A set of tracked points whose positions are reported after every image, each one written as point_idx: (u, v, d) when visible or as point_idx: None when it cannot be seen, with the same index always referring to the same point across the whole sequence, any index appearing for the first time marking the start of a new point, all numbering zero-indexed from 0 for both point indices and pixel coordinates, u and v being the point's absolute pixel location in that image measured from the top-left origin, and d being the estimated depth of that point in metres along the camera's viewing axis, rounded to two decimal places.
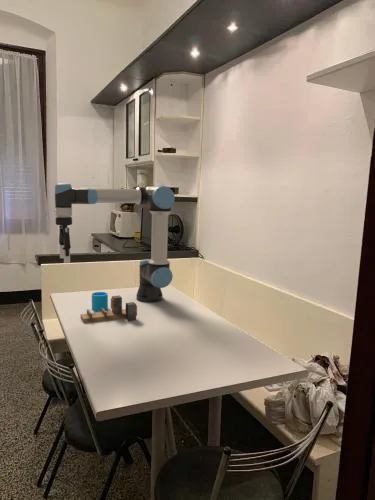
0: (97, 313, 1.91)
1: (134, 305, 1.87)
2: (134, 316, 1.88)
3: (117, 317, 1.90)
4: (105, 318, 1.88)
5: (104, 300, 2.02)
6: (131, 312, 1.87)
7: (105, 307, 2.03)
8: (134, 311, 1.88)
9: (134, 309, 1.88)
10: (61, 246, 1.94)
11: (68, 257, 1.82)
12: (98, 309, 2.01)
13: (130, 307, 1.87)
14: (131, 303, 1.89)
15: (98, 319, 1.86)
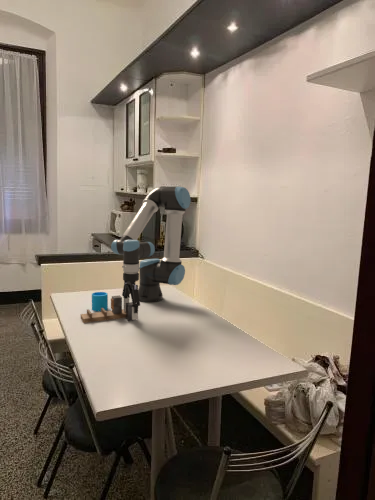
0: (97, 313, 1.91)
1: None
2: None
3: (117, 317, 1.90)
4: (105, 318, 1.88)
5: (104, 300, 2.02)
6: (131, 312, 1.87)
7: (105, 307, 2.03)
8: None
9: None
10: (125, 299, 1.94)
11: (136, 314, 1.82)
12: (98, 309, 2.01)
13: (129, 307, 1.86)
14: (131, 303, 1.89)
15: (98, 319, 1.86)
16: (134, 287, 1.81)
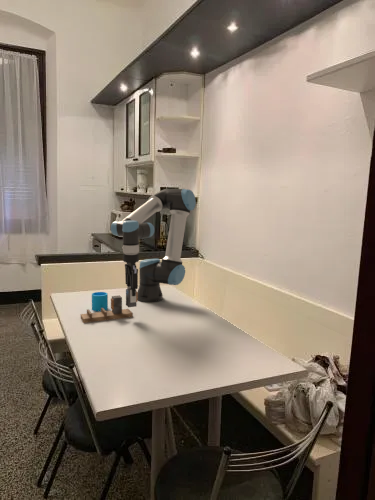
0: (97, 313, 1.91)
1: None
2: (134, 302, 1.88)
3: (117, 317, 1.90)
4: (105, 318, 1.88)
5: (104, 300, 2.02)
6: None
7: (105, 307, 2.03)
8: None
9: None
10: (129, 288, 1.89)
11: (134, 297, 1.86)
12: (98, 309, 2.01)
13: None
14: None
15: (98, 319, 1.86)
16: (134, 272, 1.80)
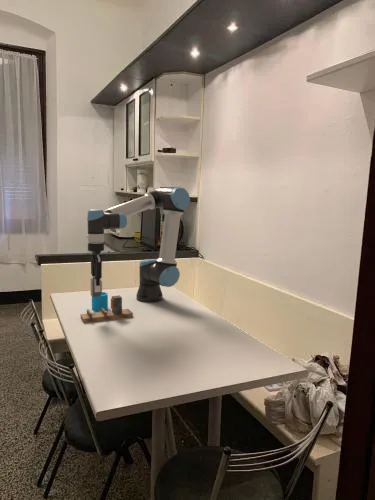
0: (97, 313, 1.91)
1: None
2: (99, 292, 1.86)
3: (117, 317, 1.90)
4: (105, 318, 1.88)
5: (104, 300, 2.02)
6: None
7: (105, 307, 2.03)
8: None
9: None
10: (94, 277, 1.88)
11: (98, 286, 1.85)
12: (98, 309, 2.01)
13: None
14: None
15: (98, 319, 1.86)
16: (98, 260, 1.79)
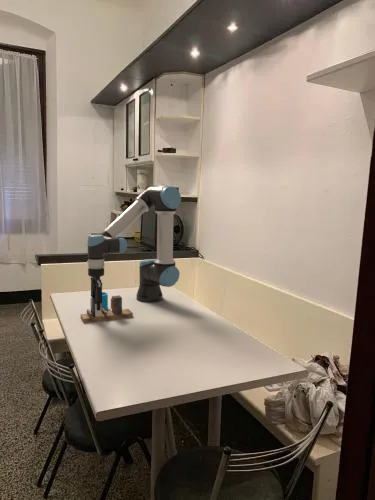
0: None
1: None
2: None
3: (117, 317, 1.90)
4: (105, 318, 1.88)
5: (104, 300, 2.02)
6: None
7: (105, 307, 2.03)
8: None
9: None
10: None
11: (99, 311, 1.86)
12: None
13: None
14: None
15: (98, 319, 1.86)
16: (98, 285, 1.81)
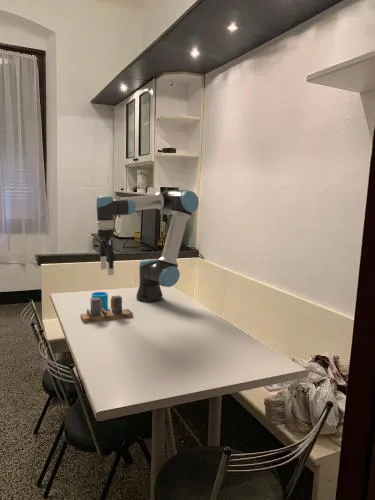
0: None
1: (98, 300, 1.87)
2: (98, 311, 1.87)
3: (117, 317, 1.90)
4: (105, 318, 1.88)
5: (104, 300, 2.02)
6: (95, 307, 1.86)
7: (105, 307, 2.03)
8: (98, 306, 1.87)
9: (98, 304, 1.87)
10: (102, 257, 1.95)
11: (112, 269, 1.84)
12: None
13: (94, 303, 1.86)
14: (96, 298, 1.88)
15: (98, 319, 1.86)
16: (108, 242, 1.81)
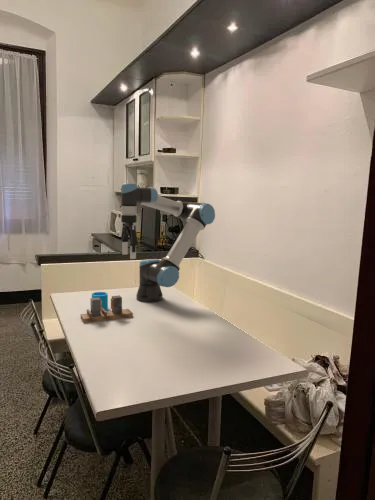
0: None
1: (98, 300, 1.87)
2: (98, 311, 1.87)
3: (117, 317, 1.90)
4: (105, 318, 1.88)
5: (104, 300, 2.02)
6: (95, 307, 1.86)
7: (105, 307, 2.03)
8: (98, 306, 1.87)
9: (98, 304, 1.87)
10: (124, 243, 2.03)
11: (134, 253, 1.92)
12: None
13: (94, 303, 1.86)
14: (96, 298, 1.88)
15: (98, 319, 1.86)
16: (132, 227, 1.90)
